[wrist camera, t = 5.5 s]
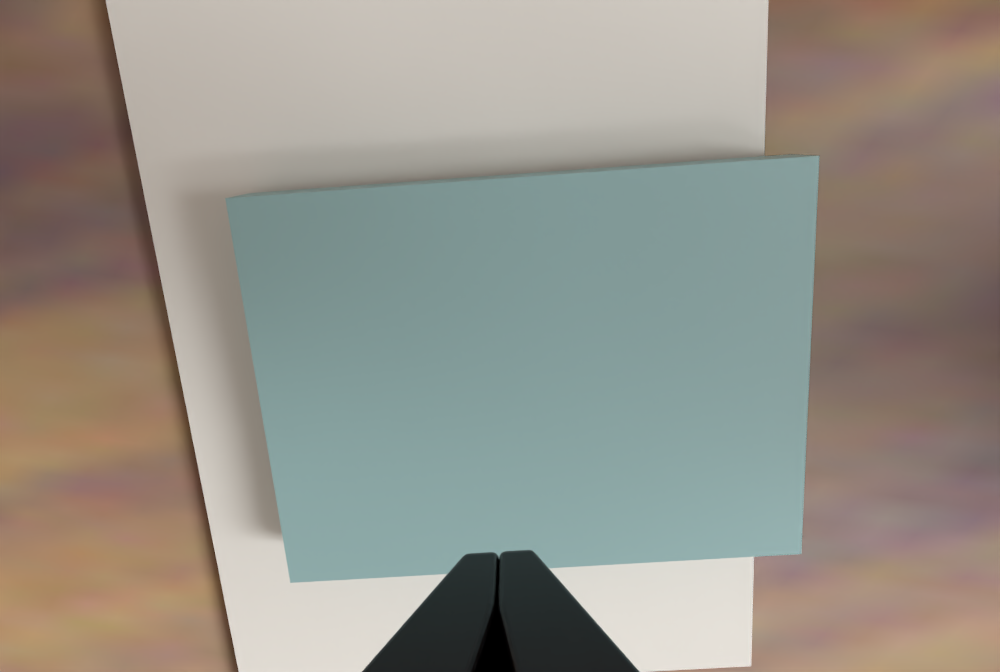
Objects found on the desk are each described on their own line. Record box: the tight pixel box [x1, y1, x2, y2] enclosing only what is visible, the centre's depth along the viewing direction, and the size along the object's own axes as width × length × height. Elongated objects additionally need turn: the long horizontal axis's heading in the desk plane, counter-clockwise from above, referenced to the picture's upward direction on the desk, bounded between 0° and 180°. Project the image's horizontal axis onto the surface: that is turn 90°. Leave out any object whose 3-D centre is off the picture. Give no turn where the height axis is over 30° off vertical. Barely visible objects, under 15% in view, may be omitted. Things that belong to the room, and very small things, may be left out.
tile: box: [225, 154, 819, 583], centre depth 16 cm, size 2×9×12 cm
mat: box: [106, 0, 768, 672], centre depth 17 cm, size 14×18×1 cm
